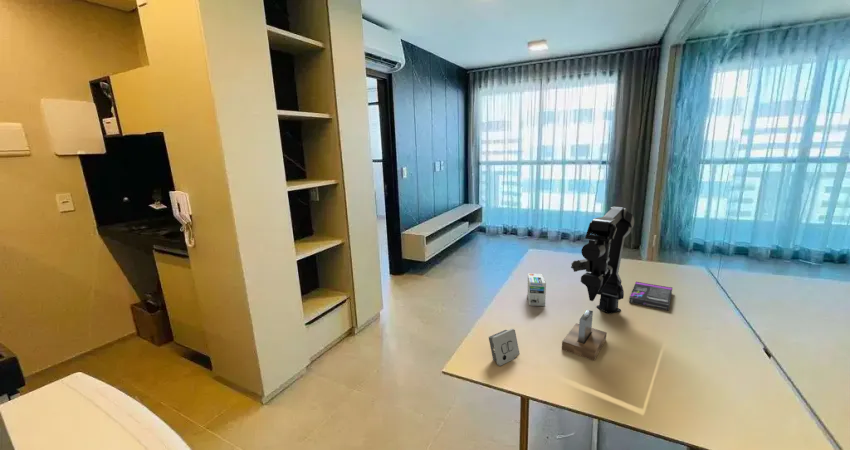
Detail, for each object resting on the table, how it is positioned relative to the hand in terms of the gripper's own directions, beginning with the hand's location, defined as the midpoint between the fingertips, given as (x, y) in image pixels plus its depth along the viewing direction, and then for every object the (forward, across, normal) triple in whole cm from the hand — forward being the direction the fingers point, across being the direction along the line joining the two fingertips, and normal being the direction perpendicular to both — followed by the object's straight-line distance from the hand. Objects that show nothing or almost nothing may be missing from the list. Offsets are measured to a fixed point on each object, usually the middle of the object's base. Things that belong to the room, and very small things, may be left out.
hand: (594, 296), depth 120 cm
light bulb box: (+13, -12, -26) cm, 31 cm away
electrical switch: (+16, +32, -18) cm, 41 cm away
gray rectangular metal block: (+13, +12, +1) cm, 18 cm away
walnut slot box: (+14, +12, +1) cm, 18 cm away
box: (+10, -42, +13) cm, 45 cm away
